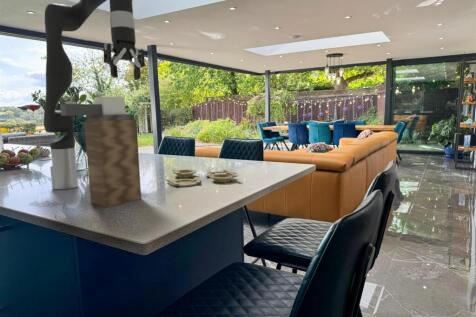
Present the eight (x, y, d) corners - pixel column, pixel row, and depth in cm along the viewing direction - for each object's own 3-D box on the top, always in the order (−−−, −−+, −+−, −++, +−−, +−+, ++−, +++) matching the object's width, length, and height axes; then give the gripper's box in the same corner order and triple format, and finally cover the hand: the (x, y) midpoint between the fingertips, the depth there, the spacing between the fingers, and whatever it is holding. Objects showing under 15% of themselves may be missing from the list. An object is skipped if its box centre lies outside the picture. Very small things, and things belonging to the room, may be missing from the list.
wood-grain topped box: (106, 207, 112) (99, 114, 108) (90, 202, 119) (83, 114, 114) (141, 198, 123) (136, 113, 119) (125, 194, 129) (120, 114, 125)
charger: (68, 115, 102) (66, 95, 102) (59, 115, 106) (57, 96, 105) (125, 114, 118) (124, 97, 117) (115, 114, 122) (114, 98, 121)
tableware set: (166, 189, 140) (165, 179, 139) (164, 176, 168) (164, 168, 168) (246, 183, 148) (246, 174, 147) (232, 172, 176) (232, 165, 176)
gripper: (109, 21, 102) (113, 75, 104) (147, 30, 113) (150, 79, 115) (96, 26, 106) (100, 78, 108) (134, 34, 117) (137, 81, 119)
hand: (126, 78), depth 111 cm, fingers open, 8 cm apart
